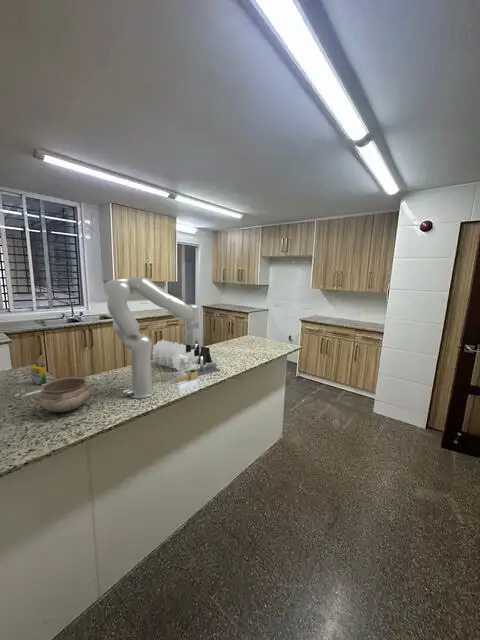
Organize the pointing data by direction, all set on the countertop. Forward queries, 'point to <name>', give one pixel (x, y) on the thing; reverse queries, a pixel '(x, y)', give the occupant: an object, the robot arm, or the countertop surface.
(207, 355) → the phone stand
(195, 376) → the loose leaf
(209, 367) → the fixed leaf
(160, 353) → the spiral staircase
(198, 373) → the mat
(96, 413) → the countertop surface
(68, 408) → the cooking pot
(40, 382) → the crayon box
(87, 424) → the countertop surface
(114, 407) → the countertop surface
